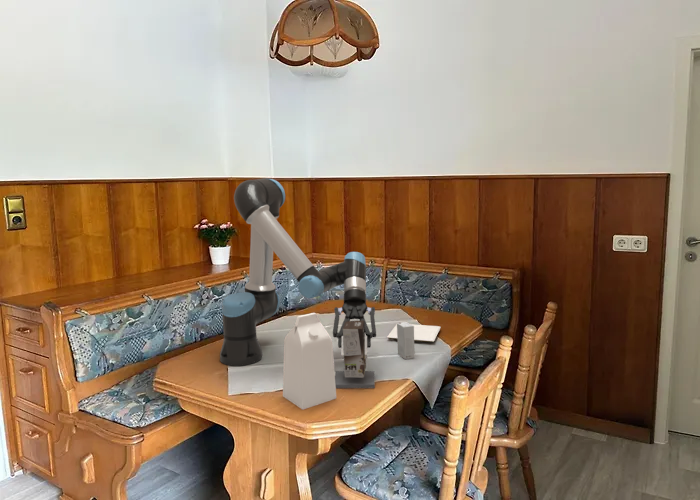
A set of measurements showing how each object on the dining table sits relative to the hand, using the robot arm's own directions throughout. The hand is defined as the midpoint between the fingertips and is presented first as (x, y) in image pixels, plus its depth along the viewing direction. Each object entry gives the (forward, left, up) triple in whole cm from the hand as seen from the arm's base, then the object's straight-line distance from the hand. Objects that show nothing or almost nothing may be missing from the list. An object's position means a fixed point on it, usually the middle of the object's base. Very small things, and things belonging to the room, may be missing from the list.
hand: (354, 356), depth 172 cm
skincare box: (-27, +18, -10) cm, 34 cm away
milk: (+8, -14, -10) cm, 19 cm away
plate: (-50, +23, -10) cm, 56 cm away
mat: (-4, 0, -10) cm, 11 cm away
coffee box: (-3, 0, -7) cm, 8 cm away
